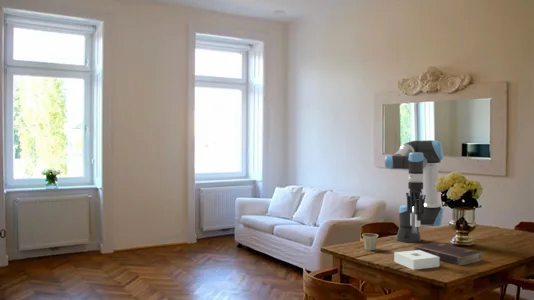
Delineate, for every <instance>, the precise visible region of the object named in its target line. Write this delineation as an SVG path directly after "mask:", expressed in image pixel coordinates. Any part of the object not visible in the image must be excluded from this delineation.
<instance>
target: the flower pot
mask: <svg viewBox="0 0 534 300" xmlns="http://www.w3.org/2000/svg"><path fill="white" fill-rule="evenodd" d="M361 236H362V238H363V244H364V245H363V246H364V250H366V251H373V250H374V251H376V249H377V241H378V237H379V234H377V233H370V232H369V233H362V234H361Z"/></svg>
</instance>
